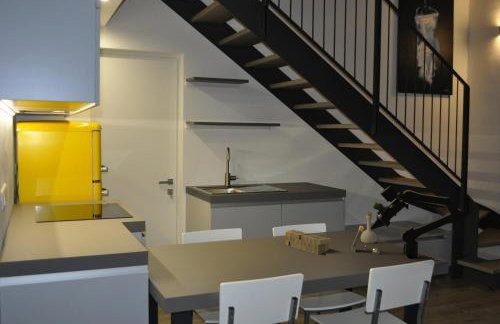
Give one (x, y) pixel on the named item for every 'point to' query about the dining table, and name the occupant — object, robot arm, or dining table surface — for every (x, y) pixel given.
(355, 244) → the orange plate
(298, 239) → the block tower
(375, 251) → the switch panel
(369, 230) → the potion bottle
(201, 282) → the dining table surface
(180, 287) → the dining table surface
